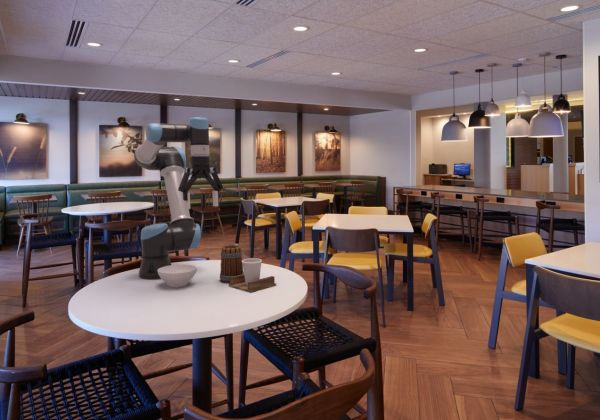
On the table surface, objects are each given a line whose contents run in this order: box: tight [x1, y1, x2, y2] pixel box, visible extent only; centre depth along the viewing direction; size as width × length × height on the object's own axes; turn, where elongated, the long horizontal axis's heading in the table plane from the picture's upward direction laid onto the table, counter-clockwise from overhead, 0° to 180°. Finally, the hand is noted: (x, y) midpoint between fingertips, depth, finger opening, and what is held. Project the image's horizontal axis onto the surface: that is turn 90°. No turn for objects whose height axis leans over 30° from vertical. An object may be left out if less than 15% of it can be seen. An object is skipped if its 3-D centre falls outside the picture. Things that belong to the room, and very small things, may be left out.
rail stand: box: [228, 274, 277, 293], centre depth 183 cm, size 14×14×4 cm
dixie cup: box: [242, 257, 263, 285], centre depth 183 cm, size 8×8×10 cm
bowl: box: [157, 263, 197, 288], centre depth 186 cm, size 16×16×7 cm
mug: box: [219, 243, 244, 284], centre depth 194 cm, size 16×11×15 cm
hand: (202, 207), depth 183 cm, fingers open, 13 cm apart
